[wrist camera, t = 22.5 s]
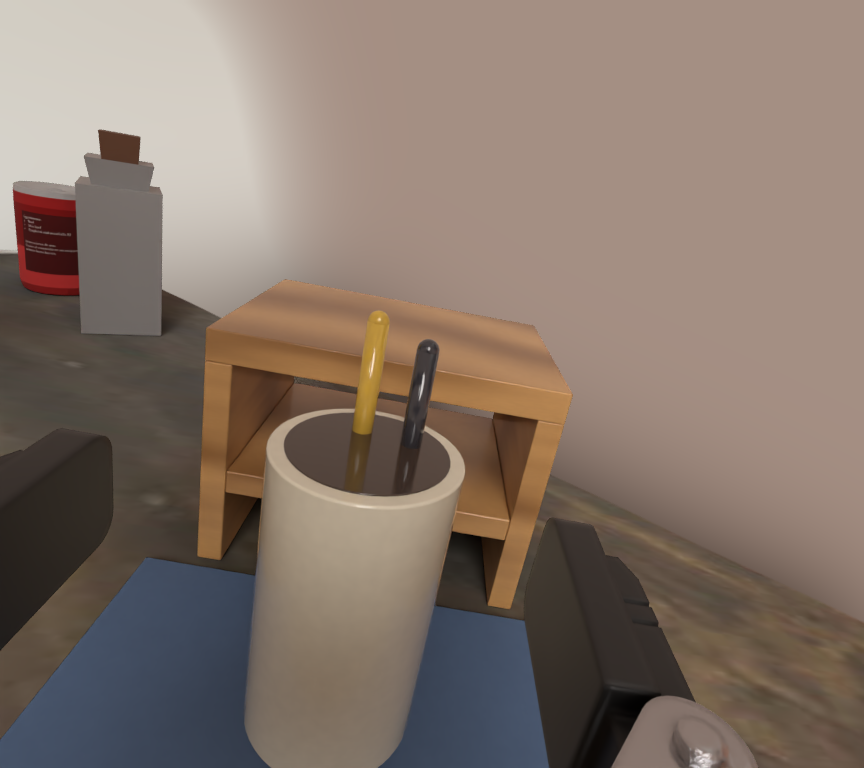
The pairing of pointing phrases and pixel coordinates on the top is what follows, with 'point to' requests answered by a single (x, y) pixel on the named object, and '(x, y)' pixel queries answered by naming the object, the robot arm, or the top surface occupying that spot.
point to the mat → (226, 680)
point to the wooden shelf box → (383, 406)
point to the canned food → (47, 237)
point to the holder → (348, 571)
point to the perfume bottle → (119, 240)
